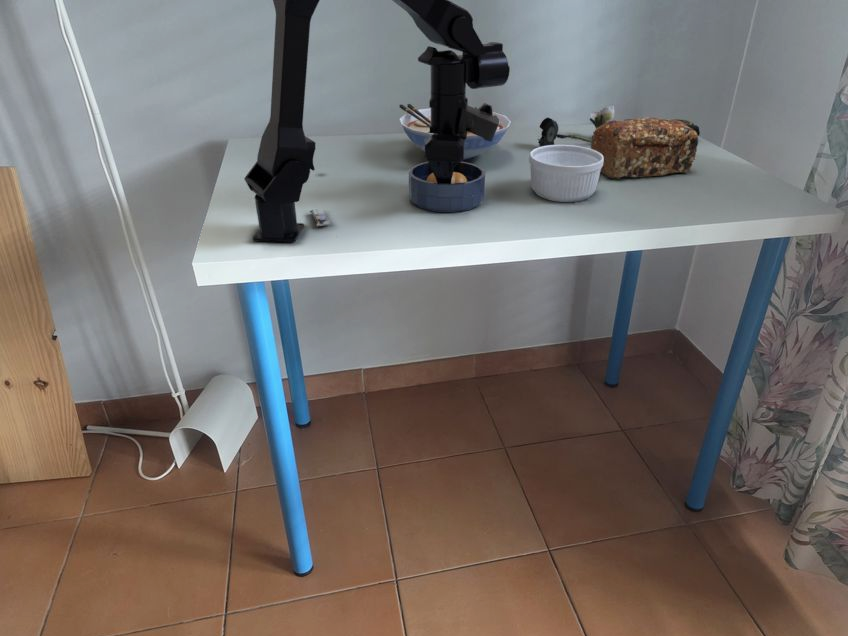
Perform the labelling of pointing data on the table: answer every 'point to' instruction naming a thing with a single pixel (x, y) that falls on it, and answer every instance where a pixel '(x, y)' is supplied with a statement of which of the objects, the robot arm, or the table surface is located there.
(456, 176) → the croissant
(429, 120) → the ramen bowl
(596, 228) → the table surface
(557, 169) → the ramekin
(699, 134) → the tape measure
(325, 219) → the granola bar
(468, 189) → the bowl
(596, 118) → the artificial flower
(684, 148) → the bread
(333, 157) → the table surface
